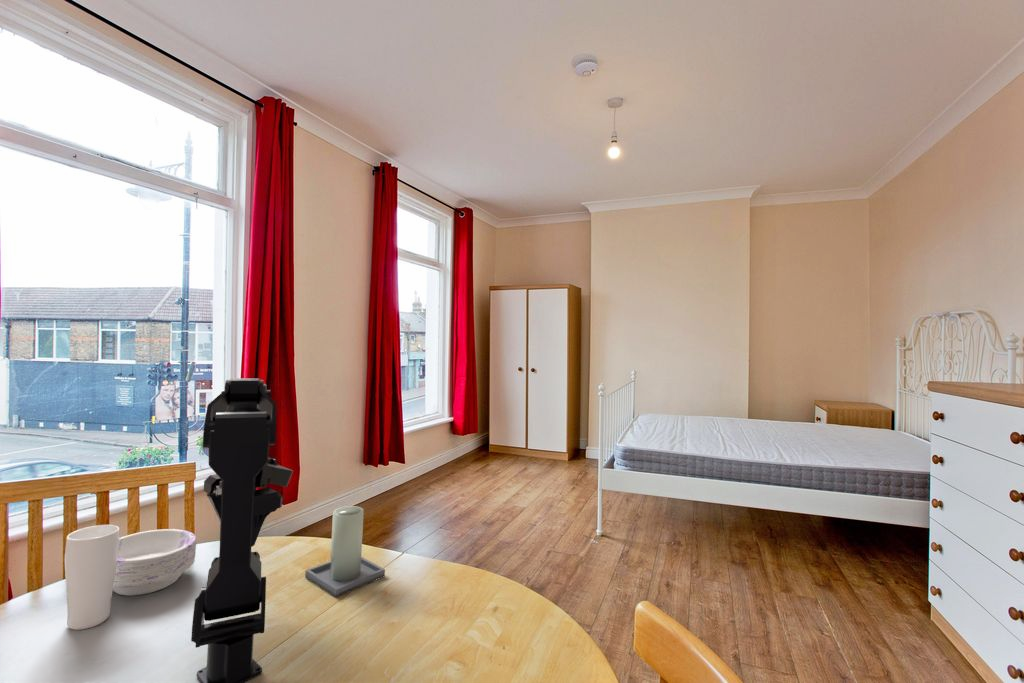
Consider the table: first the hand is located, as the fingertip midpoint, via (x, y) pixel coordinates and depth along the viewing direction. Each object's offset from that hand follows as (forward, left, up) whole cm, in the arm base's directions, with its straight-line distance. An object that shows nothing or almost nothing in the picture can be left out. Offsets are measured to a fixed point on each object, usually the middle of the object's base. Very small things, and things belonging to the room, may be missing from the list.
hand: (239, 538), depth 85 cm
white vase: (+12, +18, -12) cm, 25 cm away
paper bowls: (+20, +8, -12) cm, 25 cm away
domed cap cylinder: (-5, -19, -11) cm, 23 cm away
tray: (-5, -19, -12) cm, 23 cm away
